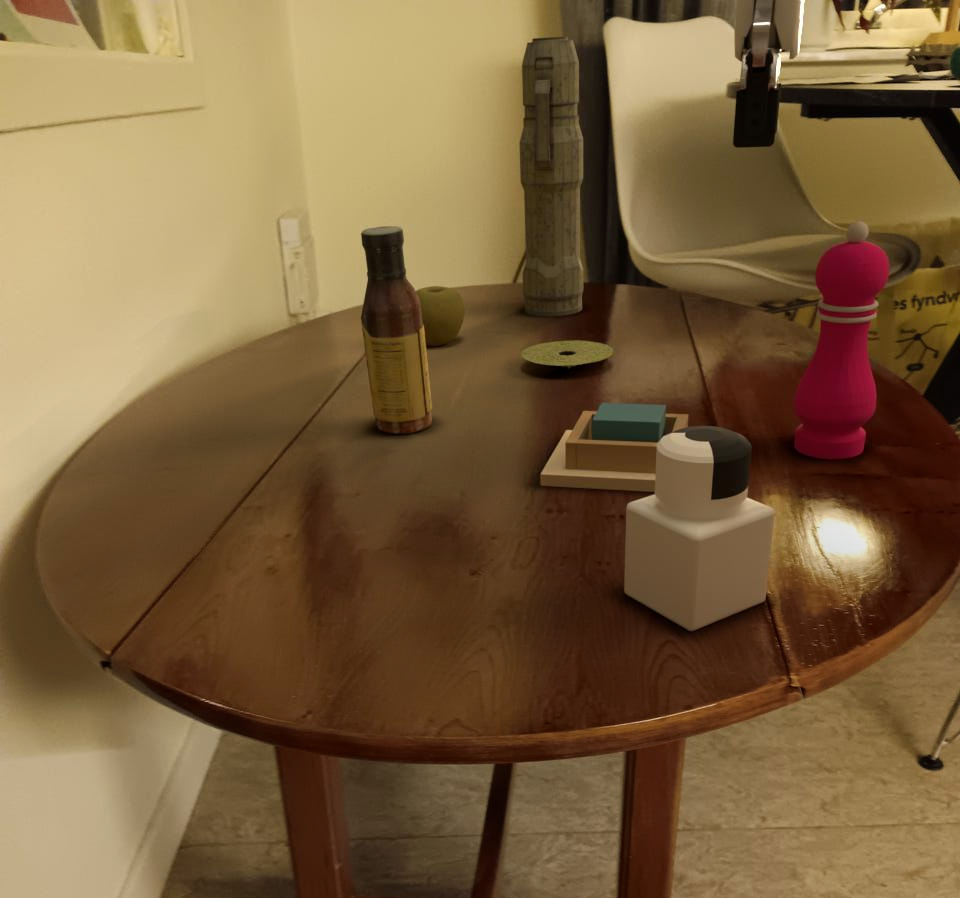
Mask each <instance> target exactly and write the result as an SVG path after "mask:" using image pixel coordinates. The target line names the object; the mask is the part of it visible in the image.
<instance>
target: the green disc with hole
mask: <svg viewBox="0 0 960 898" xmlns="http://www.w3.org/2000/svg"><path fill="white" fill-rule="evenodd" d="M614 352H615V351H614V349H613V347H611V345H608V344H605V343H602V342H595V341H589V340H580V339H577V340H576V339H575V340H573V339H572V340H558V341H557V340H555V341H551V342H550V341H549V342H543V343H537V344H534V345H532V346H528V347H526V348H525V349H523V350H522V351H521V354H520V356H521V358H522V359H524V360H526V361H528V362H532V363H533V364H537V365H538V364H540V365H546V366H557V367H558V366H561V368H562V369H564V368H567V370H569V369H571V368H572V367H573V368H575V367H576V366H578V365H581V366H582V365H583V364H584V365H585V364H591V363H595V362H600V361H603V360H605V359H607V358H609V357H611V356H612V355H613V354H614Z"/></svg>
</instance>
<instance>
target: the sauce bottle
mask: <svg viewBox="0 0 960 898" xmlns="http://www.w3.org/2000/svg"><path fill="white" fill-rule="evenodd" d="M360 236H361V245H362V247H363V250H364V254H365V262H366V269H367V272H366V276H367V281H366V286H365V287H366V288H365V292H364V298H363V305H362V310H361V314H360V324H361V329H362V338H363V346H364V354H365V360H366V367H367V374H368V382H369V390H370V397H371V405H372V411H373V416H374V418H375V425H376V426H377V428H378V430H379V431H382V432H384V433H388V434H393V435H410V434H414V433H417V432H422V431H424V430H427V429H428V428H429V427H430V426H431V425H432V421H433V416H432V410H433V402H432V392H431V381H430V373H429V372H430V371H429V363H428V362H429V361H428V354H427V353H428V352H427V346H426V342H425V332H424V324H423V323H422V314H421V304H420V300H419V297H418V295H417V293H416V291H417V290H416V289H415V288H414V286H413V285H412V284H411V282H410V281H409V280H408V279H407V268H406V265H405V256H404V249H403V247H404V243H405V238H404V230H403V228H402V227H401V226H397V225H383V226H375V227H369V228H368V227H367V228H365V229H363V230H362V231H361V233H360Z"/></svg>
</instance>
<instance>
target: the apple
mask: <svg viewBox="0 0 960 898" xmlns="http://www.w3.org/2000/svg"><path fill="white" fill-rule="evenodd" d="M415 291H416V293H417V295H418V297H419V300H420V304H421V314H422V323H423V324H424V332H425V342H426V347H441V346H445V345H448V344H449V343H451V342H452V341H454V340H455V339H456V337H457V336H458V334H459V332H460V331H461V328H462V327H463V322H464V317H465V306H464V305H465V304H464V301H463V298H462V296H461V294H460V293H459V292H458V291H457V290H455V289H454V288H452V287H448V286H438V285H432V286H425V287H422V288H418V289H417V290H415Z"/></svg>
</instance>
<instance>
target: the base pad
mask: <svg viewBox="0 0 960 898" xmlns="http://www.w3.org/2000/svg"><path fill="white" fill-rule="evenodd" d="M596 412H597V410H583V411H582V413H581V415H580V416H579V418H578V420H577V421H576V424H575V425H574V427H573V429H566V430H565V431H564V433H563V434H562V436H561V438H560V440H559V442H558V443H557V445H556V447H555V448H554V450H553V452H552V454H550V455H551V456H550V457H549V459H548V460H547V462H546V463H545V465H544V468H543V469H542V471H541V472H540V478H539V479H540V486H541V487H558V488H574V489H575V488H578V489H594V490H612V491H613V490H614V491H628V492H629V491H630V492H631V491H633V492H650V493H655V476H656V452H657V443H654V442H630V441H606V440H592V420H593V418H594V416H595V414H596ZM686 427H689V414H688V413H666V417H665V435H666V434H668V433H670V432H673V431H676V430H679V429H682V428H686Z"/></svg>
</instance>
